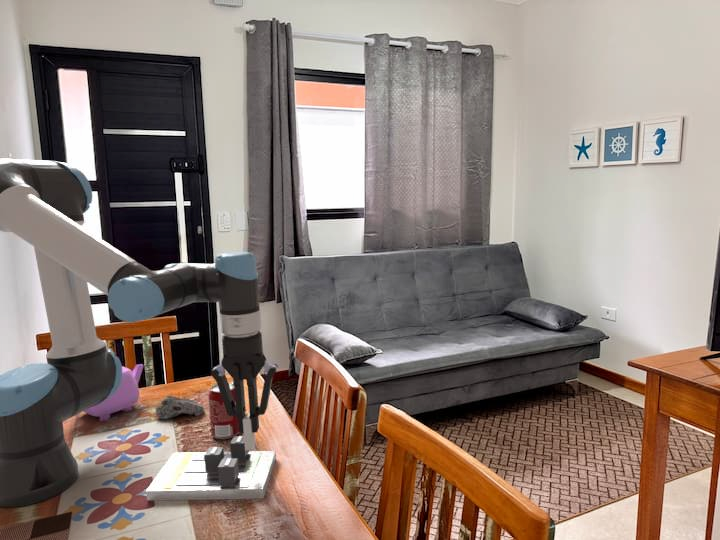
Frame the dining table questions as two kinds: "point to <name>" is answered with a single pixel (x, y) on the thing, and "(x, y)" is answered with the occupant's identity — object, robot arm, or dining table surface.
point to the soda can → (221, 415)
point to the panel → (211, 478)
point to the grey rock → (178, 407)
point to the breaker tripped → (213, 458)
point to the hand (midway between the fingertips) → (250, 446)
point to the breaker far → (238, 448)
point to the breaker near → (228, 471)
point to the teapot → (120, 395)
